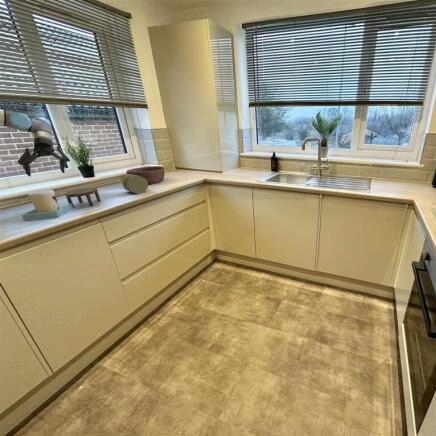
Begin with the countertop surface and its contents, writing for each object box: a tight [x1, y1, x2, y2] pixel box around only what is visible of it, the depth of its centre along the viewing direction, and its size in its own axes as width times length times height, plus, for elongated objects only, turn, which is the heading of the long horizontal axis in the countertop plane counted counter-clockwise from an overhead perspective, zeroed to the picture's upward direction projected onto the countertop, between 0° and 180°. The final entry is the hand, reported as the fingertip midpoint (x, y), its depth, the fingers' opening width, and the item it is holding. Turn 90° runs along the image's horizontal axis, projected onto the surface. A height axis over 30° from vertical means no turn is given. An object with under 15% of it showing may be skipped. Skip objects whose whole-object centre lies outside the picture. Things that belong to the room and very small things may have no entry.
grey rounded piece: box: [120, 173, 149, 195], centre depth 156 cm, size 11×12×11 cm
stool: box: [64, 187, 102, 209], centre depth 134 cm, size 14×14×8 cm
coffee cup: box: [27, 188, 60, 213], centre depth 119 cm, size 9×9×12 cm
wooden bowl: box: [125, 165, 165, 186], centre depth 182 cm, size 25×25×10 cm
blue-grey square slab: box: [21, 203, 74, 222], centre depth 121 cm, size 14×13×3 cm
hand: (45, 173), depth 126 cm, fingers open, 13 cm apart
